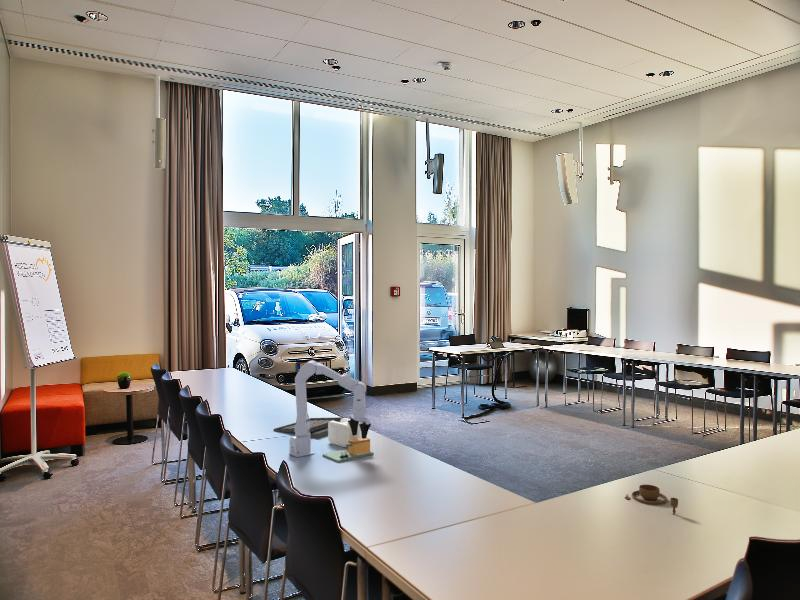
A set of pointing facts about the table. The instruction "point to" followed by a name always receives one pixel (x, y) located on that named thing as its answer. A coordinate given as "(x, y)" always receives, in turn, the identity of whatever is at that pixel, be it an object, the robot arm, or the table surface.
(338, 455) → the board
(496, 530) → the table surface
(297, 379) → the robot arm
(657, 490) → the place setting
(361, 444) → the block
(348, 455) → the twin bulb fixture
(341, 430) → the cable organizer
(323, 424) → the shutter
